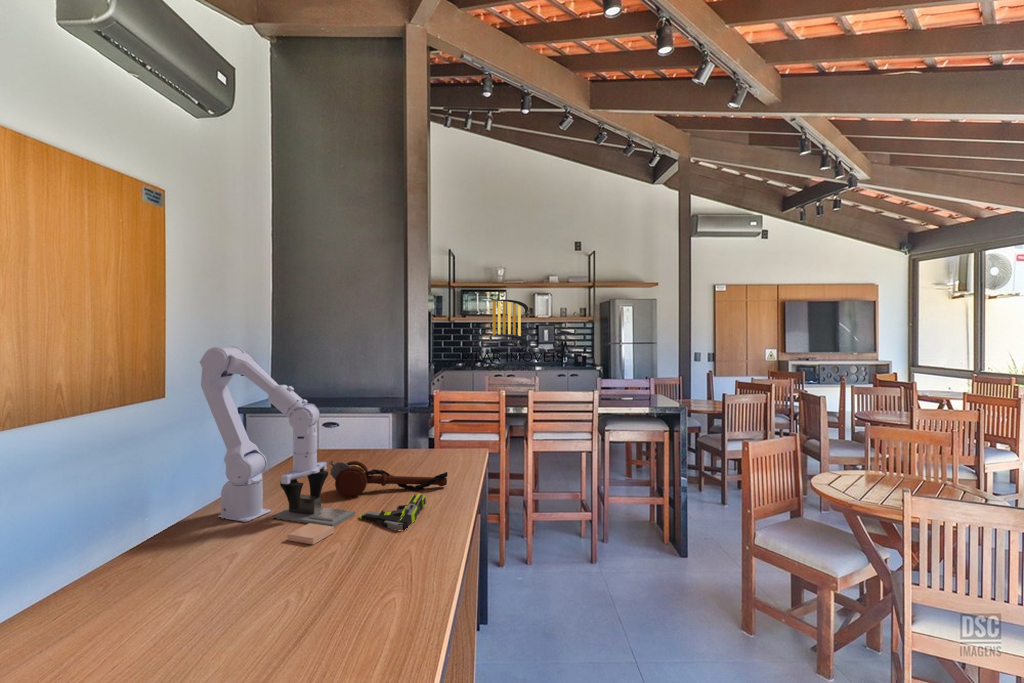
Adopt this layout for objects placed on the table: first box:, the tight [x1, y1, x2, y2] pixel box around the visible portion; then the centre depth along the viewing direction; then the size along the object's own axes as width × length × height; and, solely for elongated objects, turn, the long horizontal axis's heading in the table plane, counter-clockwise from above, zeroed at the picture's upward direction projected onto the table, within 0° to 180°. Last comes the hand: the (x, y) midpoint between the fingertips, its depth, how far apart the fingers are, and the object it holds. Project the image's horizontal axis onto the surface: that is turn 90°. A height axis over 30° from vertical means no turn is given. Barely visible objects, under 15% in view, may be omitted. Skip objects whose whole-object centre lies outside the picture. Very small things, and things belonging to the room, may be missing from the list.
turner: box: [288, 493, 349, 521], centre depth 128 cm, size 15×6×4 cm, turn 72°
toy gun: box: [358, 493, 427, 531], centre depth 129 cm, size 20×4×15 cm
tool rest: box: [272, 506, 356, 528], centre depth 128 cm, size 18×9×1 cm, turn 72°
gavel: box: [329, 458, 448, 499], centre depth 150 cm, size 10×34×10 cm
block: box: [287, 523, 335, 545], centre depth 115 cm, size 2×7×7 cm
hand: (305, 504), depth 129 cm, fingers open, 7 cm apart
